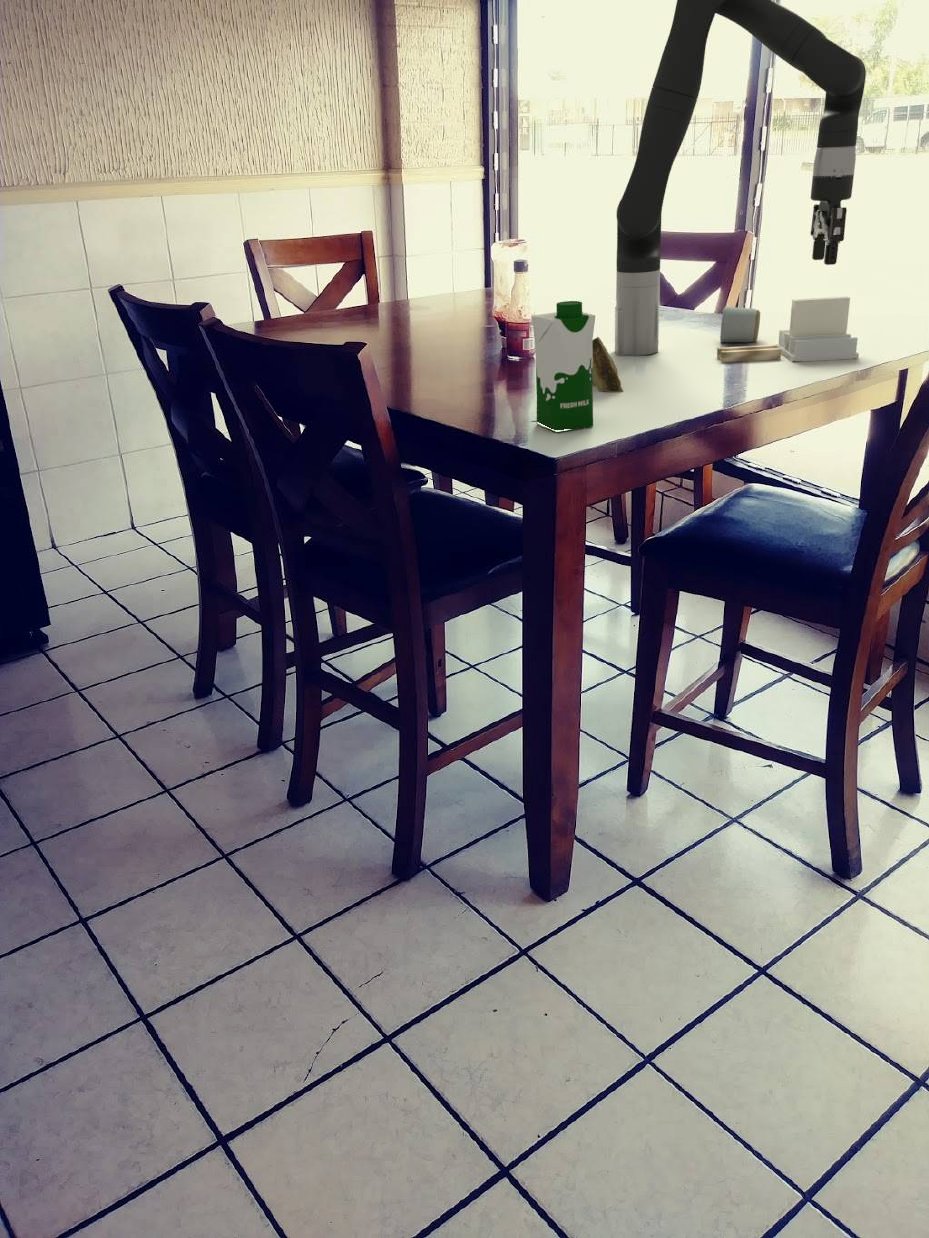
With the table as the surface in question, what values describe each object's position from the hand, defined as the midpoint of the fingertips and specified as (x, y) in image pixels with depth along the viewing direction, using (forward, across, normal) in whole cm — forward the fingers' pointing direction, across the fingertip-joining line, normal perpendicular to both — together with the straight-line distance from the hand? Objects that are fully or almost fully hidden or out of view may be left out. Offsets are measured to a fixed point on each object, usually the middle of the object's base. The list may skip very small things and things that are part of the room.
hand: (823, 262), depth 195 cm
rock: (+19, +20, -45) cm, 53 cm away
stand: (+18, +1, -14) cm, 23 cm away
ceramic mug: (+19, -19, -12) cm, 29 cm away
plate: (+17, 0, 0) cm, 17 cm away
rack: (+18, 0, 0) cm, 18 cm away
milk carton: (+19, +48, -54) cm, 75 cm away
